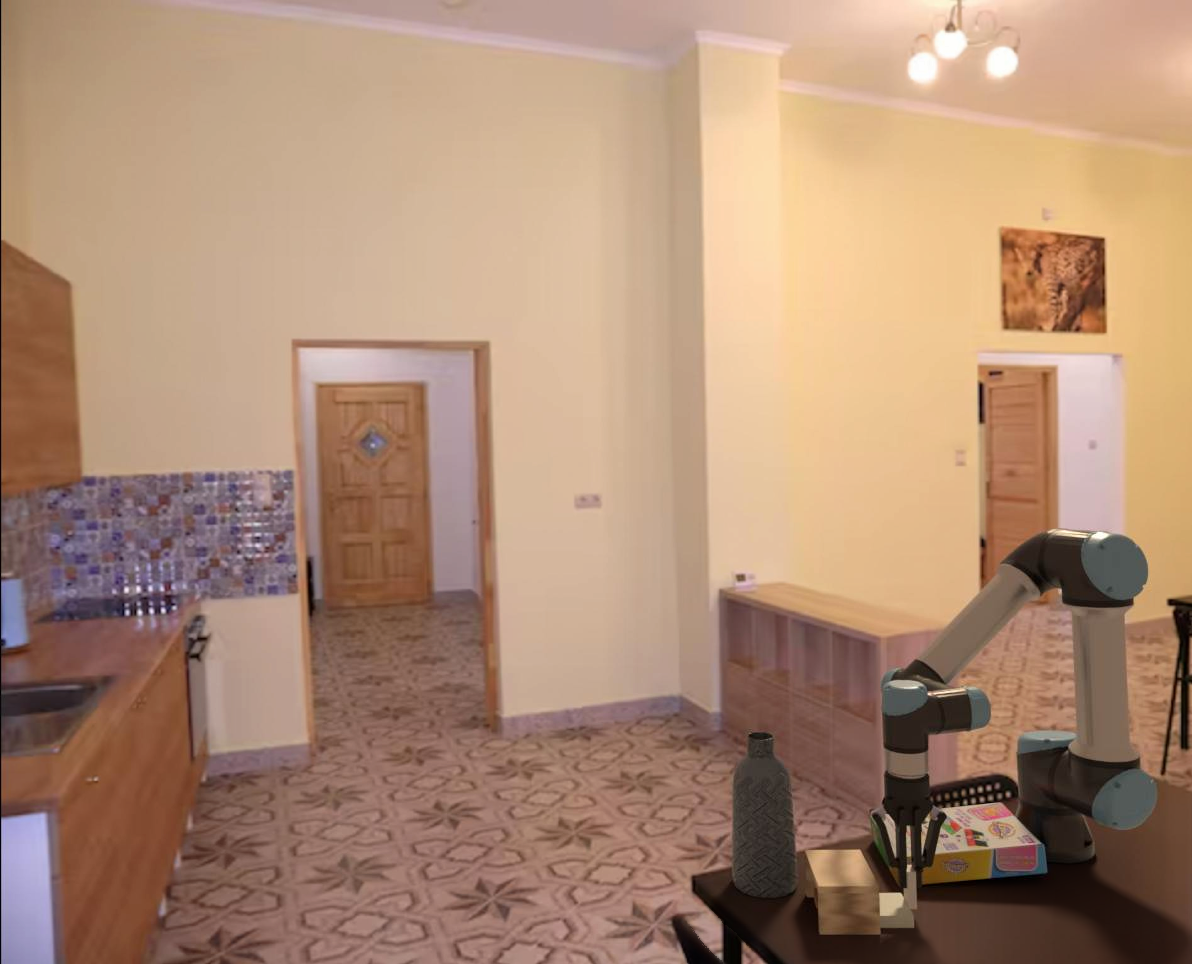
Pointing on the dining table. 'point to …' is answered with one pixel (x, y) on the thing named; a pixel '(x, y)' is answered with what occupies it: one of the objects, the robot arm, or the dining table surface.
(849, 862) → the overhang
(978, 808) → the game box
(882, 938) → the dining table surface
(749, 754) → the vase
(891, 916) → the thin cream tile
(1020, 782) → the robot arm
